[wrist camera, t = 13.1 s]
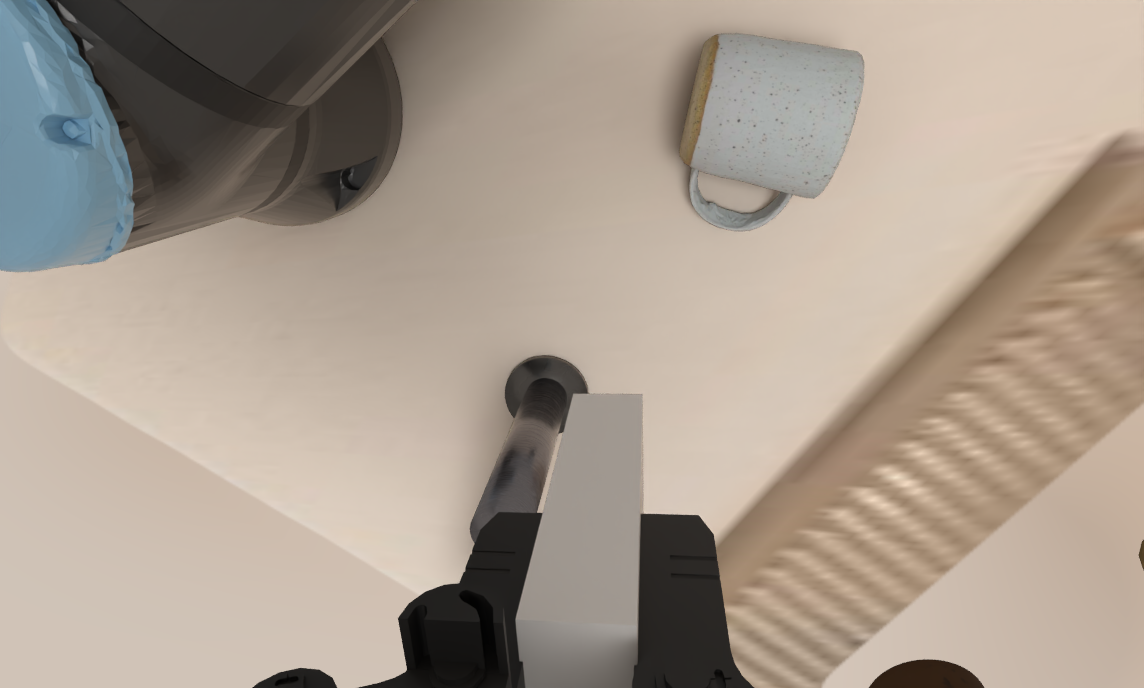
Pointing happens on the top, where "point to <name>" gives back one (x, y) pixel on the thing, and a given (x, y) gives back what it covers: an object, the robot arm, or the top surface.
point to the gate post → (529, 436)
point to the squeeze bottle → (1142, 554)
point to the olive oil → (927, 676)
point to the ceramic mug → (769, 119)
